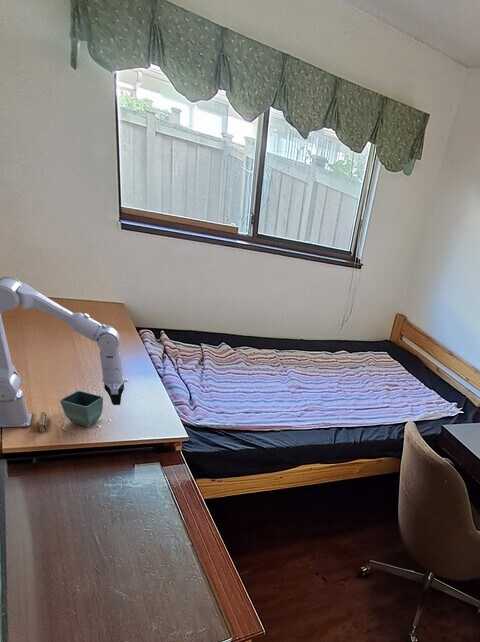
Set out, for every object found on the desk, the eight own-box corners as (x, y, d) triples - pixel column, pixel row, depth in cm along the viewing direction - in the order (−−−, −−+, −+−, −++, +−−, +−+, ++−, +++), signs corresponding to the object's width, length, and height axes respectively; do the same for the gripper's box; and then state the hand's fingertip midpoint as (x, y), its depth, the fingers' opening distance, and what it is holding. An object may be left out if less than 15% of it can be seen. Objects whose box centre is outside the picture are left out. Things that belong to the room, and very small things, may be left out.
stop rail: (40, 432, 142) (38, 424, 140) (42, 419, 147) (40, 412, 146) (46, 432, 143) (44, 424, 141) (48, 419, 148) (46, 412, 147)
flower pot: (107, 420, 155) (103, 396, 150) (90, 431, 148) (86, 407, 143) (81, 413, 155) (77, 389, 150) (63, 425, 148) (59, 400, 143)
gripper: (127, 376, 142) (131, 414, 149) (125, 357, 152) (129, 394, 159) (100, 375, 138) (106, 414, 146) (100, 356, 148) (105, 394, 156)
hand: (116, 404), depth 152 cm, fingers closed
